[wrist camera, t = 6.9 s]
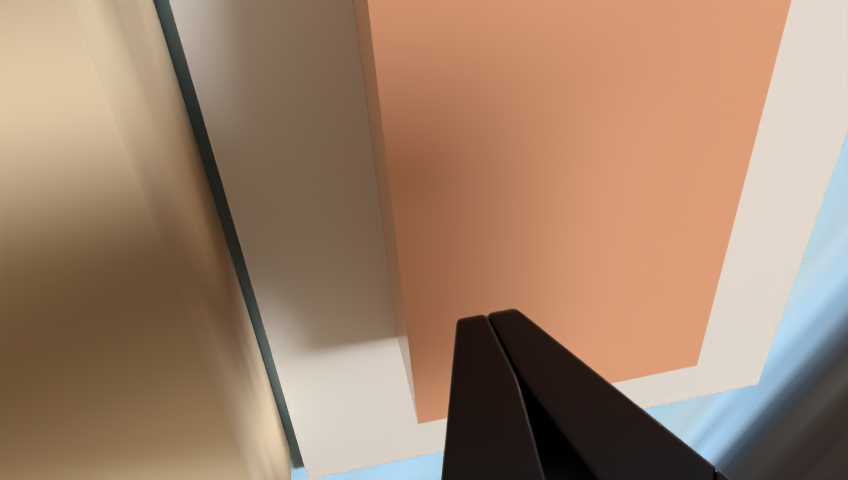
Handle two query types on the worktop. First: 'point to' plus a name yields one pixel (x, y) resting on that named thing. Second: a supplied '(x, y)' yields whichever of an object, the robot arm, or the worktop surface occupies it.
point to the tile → (561, 169)
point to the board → (116, 265)
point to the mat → (363, 232)
